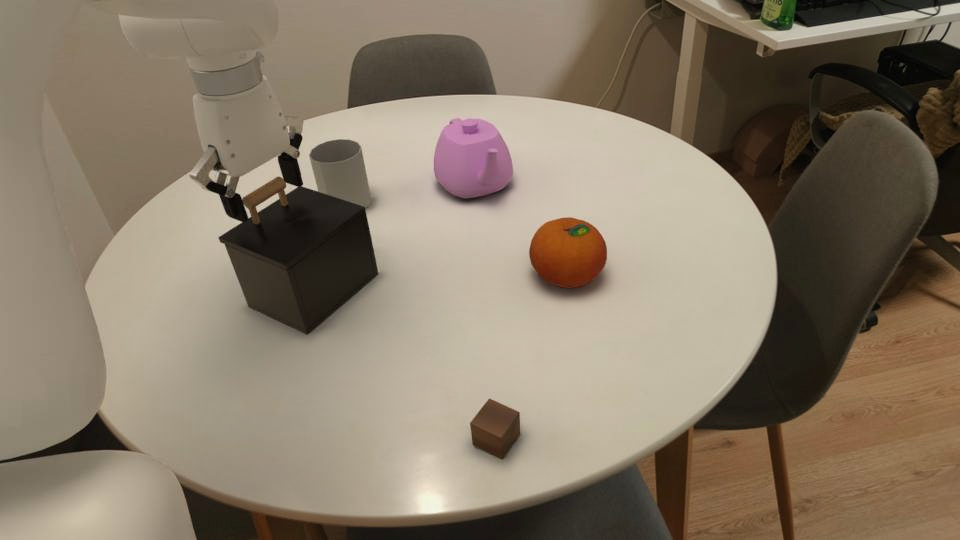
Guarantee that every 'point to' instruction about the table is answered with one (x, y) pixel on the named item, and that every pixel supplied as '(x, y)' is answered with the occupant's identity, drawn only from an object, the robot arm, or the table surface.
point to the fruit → (568, 252)
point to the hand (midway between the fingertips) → (267, 200)
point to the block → (495, 428)
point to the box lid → (289, 223)
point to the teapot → (472, 159)
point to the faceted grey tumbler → (341, 171)
